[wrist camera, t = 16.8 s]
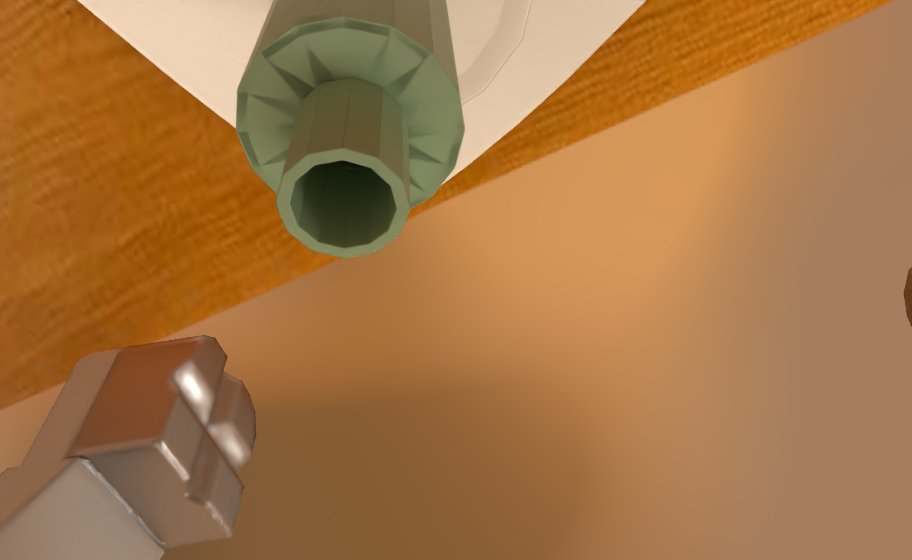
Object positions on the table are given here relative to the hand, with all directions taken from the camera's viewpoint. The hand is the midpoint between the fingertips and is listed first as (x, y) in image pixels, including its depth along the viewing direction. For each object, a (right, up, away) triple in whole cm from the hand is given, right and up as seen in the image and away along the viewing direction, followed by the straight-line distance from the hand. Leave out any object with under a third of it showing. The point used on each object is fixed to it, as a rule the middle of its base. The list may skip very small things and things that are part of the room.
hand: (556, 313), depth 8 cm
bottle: (-5, +13, +22) cm, 27 cm away
